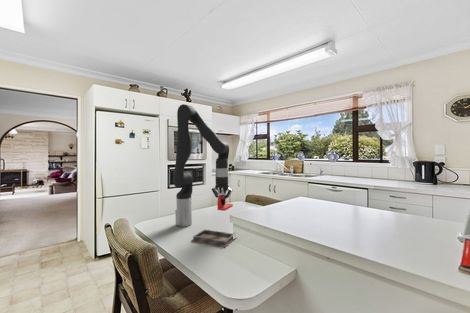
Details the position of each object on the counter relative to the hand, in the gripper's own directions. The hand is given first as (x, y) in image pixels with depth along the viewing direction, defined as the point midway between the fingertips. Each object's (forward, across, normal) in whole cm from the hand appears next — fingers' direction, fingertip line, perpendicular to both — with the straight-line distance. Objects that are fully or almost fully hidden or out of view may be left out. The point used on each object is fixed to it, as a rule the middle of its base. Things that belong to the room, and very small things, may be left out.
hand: (222, 204), depth 131 cm
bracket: (+2, +2, +1) cm, 3 cm away
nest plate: (+15, +3, -15) cm, 21 cm away
